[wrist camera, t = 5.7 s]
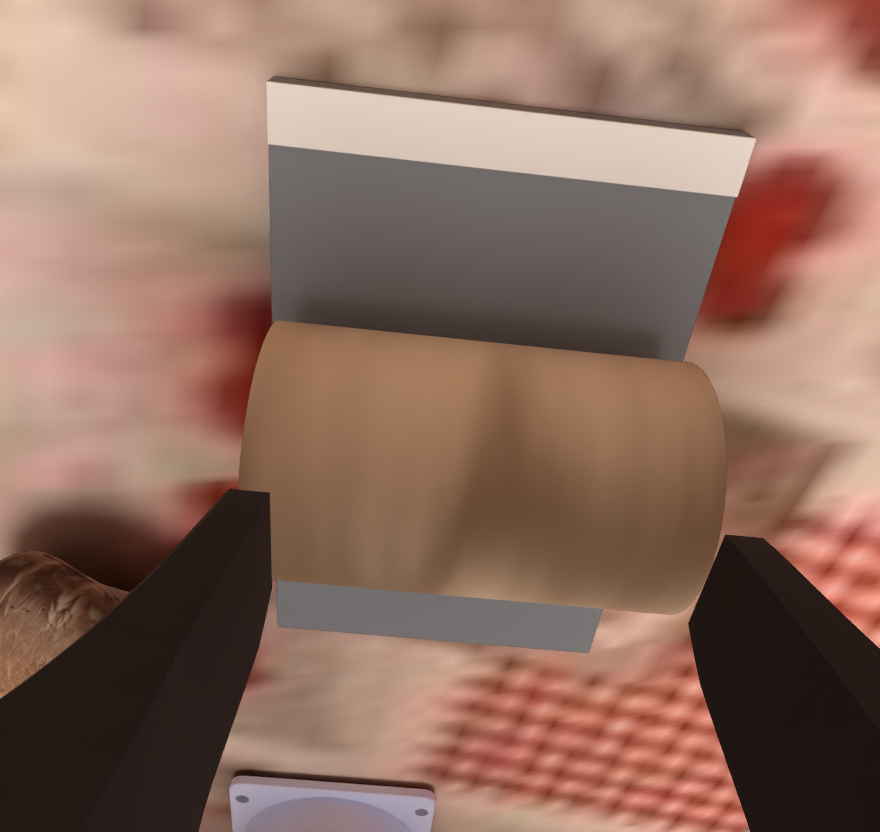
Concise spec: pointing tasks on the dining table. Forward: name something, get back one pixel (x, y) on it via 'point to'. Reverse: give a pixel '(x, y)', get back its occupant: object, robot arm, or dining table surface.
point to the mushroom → (44, 612)
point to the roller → (485, 468)
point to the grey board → (487, 266)
